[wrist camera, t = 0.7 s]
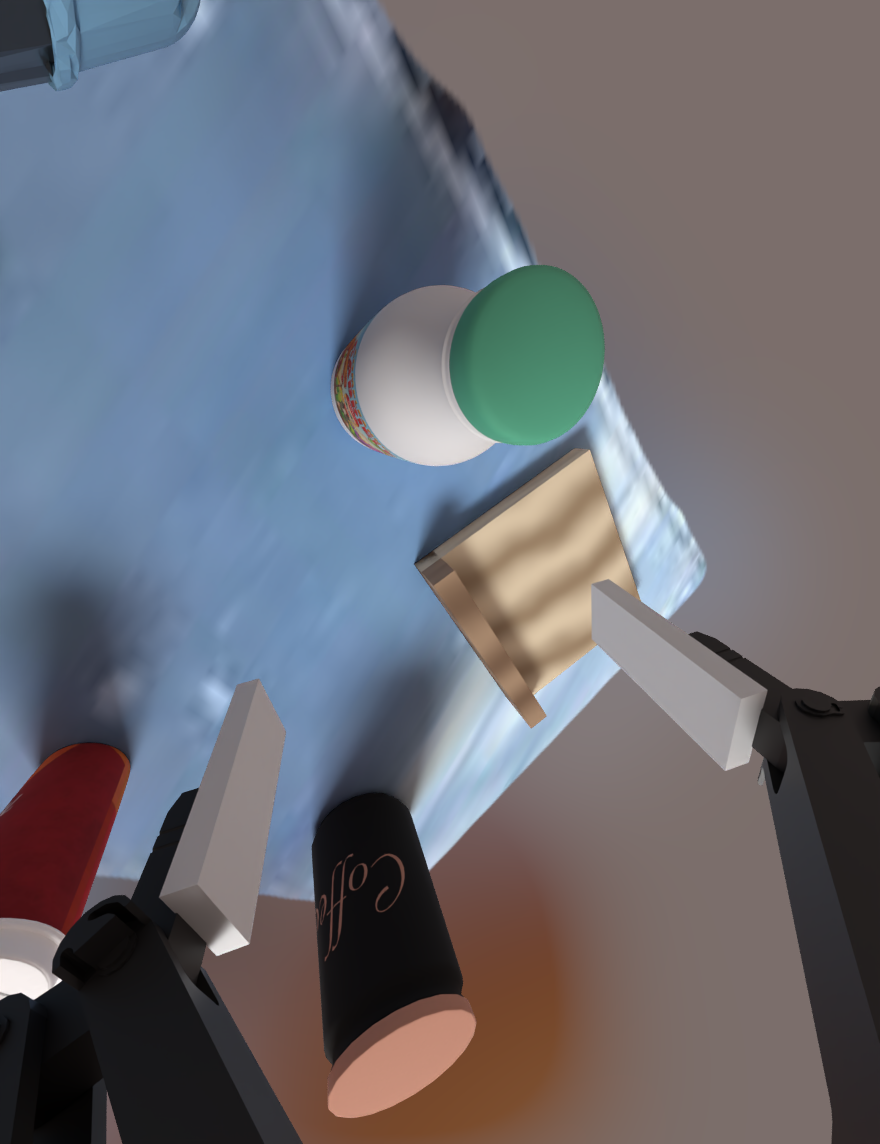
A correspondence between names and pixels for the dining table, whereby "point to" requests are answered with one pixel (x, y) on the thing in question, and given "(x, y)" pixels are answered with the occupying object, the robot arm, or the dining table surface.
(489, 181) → the dining table surface
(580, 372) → the milk bottle
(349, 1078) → the coffee jar
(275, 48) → the dining table surface
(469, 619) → the light wooden flat tray
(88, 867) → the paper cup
